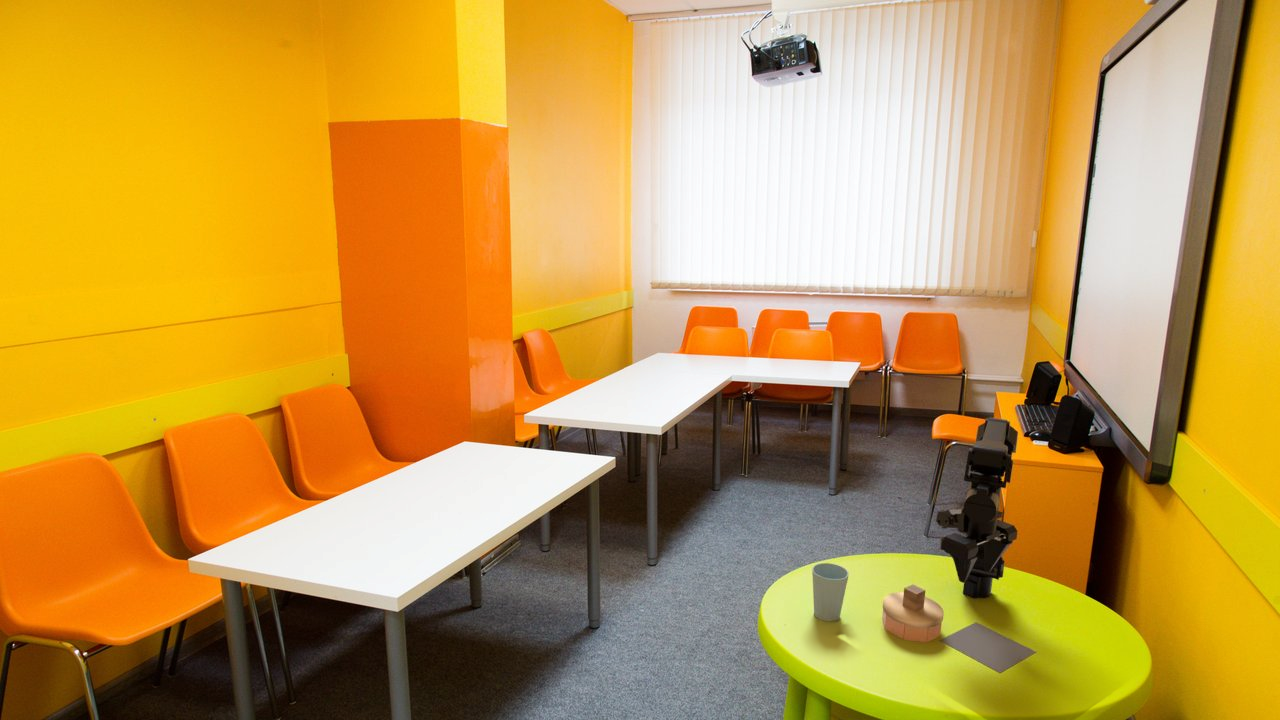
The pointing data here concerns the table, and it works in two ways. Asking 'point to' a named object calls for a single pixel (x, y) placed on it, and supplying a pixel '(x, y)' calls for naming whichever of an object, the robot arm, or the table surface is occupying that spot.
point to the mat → (988, 647)
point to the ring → (910, 630)
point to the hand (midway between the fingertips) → (974, 576)
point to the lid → (913, 608)
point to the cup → (828, 590)
